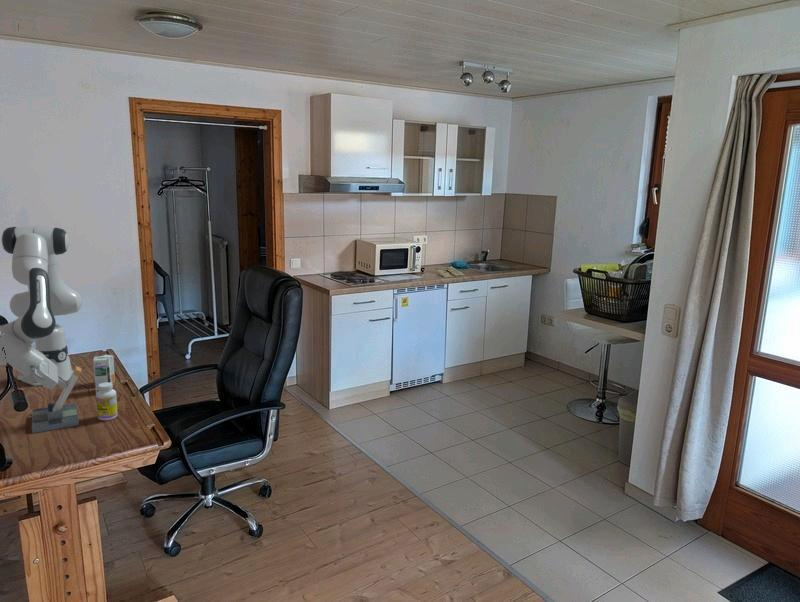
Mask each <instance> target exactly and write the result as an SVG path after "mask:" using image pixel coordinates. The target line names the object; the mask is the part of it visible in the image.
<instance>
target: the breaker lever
mask: <svg viewBox="0 0 800 602" xmlns="http://www.w3.org/2000/svg"><path fill="white" fill-rule="evenodd" d="M72 370H73V373H72V375H71V377H70V378H69V380H67V381H66V382H67V387H66V388H62V392H61V393H60V394H59V397H58V398H57V401H56V404H55V406H54V407H53V408H52V412H53V411H59V410H61V408H62V406H63V405H65V403H66V401H67V399H68V397H69V395H70V394H71V392H72V390H73V388H74V386H75V385H76V382H77V381H78V379H79V377H80V375H82V372H83V371H82V367H80V366H77V365H75V367H74V368H73V369H72Z"/></svg>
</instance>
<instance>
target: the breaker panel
mask: <svg viewBox="0 0 800 602" xmlns="http://www.w3.org/2000/svg"><path fill="white" fill-rule="evenodd" d="M56 402H57V401H56ZM56 402H55V401H54V402H48V403H47V407H48V409H45V410H38V411H33V410H32V415H31V417H32V418H31V432H32V434H36V433H41V432H48V431H54V430H60V429H66V428H72V427H77V426H80V421H79V414H78V406H77V404H76V405H71V406H64V407H62V408H61V410H59V411H53V412H52V408H53V407H54V406H55V404H56Z"/></svg>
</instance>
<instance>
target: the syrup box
mask: <svg viewBox="0 0 800 602" xmlns="http://www.w3.org/2000/svg"><path fill="white" fill-rule="evenodd" d="M92 363H93V364H92V365H93V373H94V383H95V385H94V386H95V394H96V393H97V392H98V391H99V389H98V385H99V384H101V383H106V382H110V383H111V369H110V357H109V356H103V355H101V356H94V357H93V361H92Z"/></svg>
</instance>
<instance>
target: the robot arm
mask: <svg viewBox="0 0 800 602" xmlns="http://www.w3.org/2000/svg"><path fill="white" fill-rule="evenodd" d="M0 241H1V245H2V248H3V250H4V251H5V252H6V253H8V254H11V255H12V257H11V258H12V259H11V260H12V261H11V271H12V273H11V274H12V277H13V279H14V280H15V281H17V283H20V284H22V285H25V286H27V288H28V290H27V291H24V292H19V293H16V294H13V295H12V297H11V299H10V301H9V308H10V311H11V313H12V314H13V315H14V316H16V317H17V318H16V319H14V320H12V321H10V322H8V323H6V324H3V325H0V331H1V335H0V336H1V337H0V361H2V362H4V363H7V364H9V365H10V366H11V367H12V368H13V369H14V370H15V371H17V372H19V373H21V374H19V375H17V376H16V380H18V381H20V380H21V382H23V383H25V384H28V385H31V386H36V387H37V386H43V387H44V388H46V389H48V390H54V388H56V386H58V387H60V388H62V389H64V388H66V387H67V382H68V380H69V378H70V377H71V375H72V373H73V370H74V369H72V364H71V360H70V356H69V355H68V354H69V352H68V351H69V350H68V346H67V342H66V332H65V328H64V327H63V326H61V325H59V324H57V323H56V318H55V317H56V316H68V315H72V314H74V313H78V312H79V311H80V310H81V308H82V305H83V298H82V296H81V295H80V293H79V292H78V291H77V290H75V289H72V288H71V287H69V285H67V283H65V282H64V281H63V278H62V276H61V272H60V268H59V257H58V255H62V254H65V253H66V252H67V251H68V249H69V247H70V238H69V235H68V233H67V231H66V230H65V229H63V228H61V227H59V228H58V227H47V226H38V225H37V226H36V225H35V226H21V227H20V226H18V227H17V226H10V227H7V228H6V229H4V230H3V232H2V235H1V239H0ZM4 333H5V334H4ZM2 334H4V335H2ZM33 343H34V344H35V345H34V346H35V348H34V347H33V346H32V344H33ZM3 347H4V349H3V351H2V348H3ZM4 350H5V353H6V355H5V353H4ZM5 357H6V358H5Z"/></svg>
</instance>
